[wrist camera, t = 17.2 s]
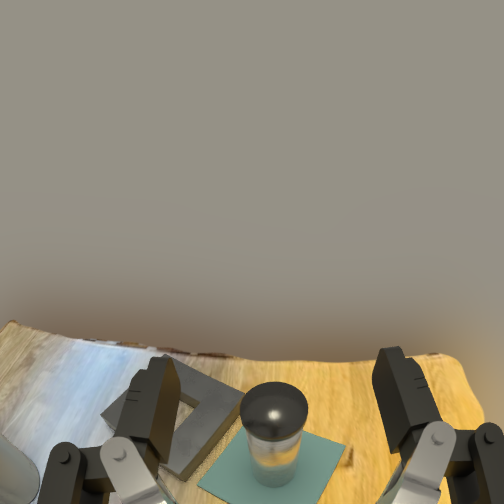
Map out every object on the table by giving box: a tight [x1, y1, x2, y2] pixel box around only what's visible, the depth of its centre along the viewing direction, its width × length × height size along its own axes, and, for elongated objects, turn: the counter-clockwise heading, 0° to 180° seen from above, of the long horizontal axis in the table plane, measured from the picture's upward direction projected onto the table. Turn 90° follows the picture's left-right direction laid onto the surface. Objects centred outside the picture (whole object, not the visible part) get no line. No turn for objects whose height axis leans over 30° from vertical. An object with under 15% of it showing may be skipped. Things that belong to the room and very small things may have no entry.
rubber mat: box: [197, 426, 345, 504], centre depth 31 cm, size 13×13×1 cm
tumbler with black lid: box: [240, 382, 308, 488], centre depth 27 cm, size 5×5×15 cm
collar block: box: [100, 354, 245, 482], centre depth 37 cm, size 14×14×3 cm
